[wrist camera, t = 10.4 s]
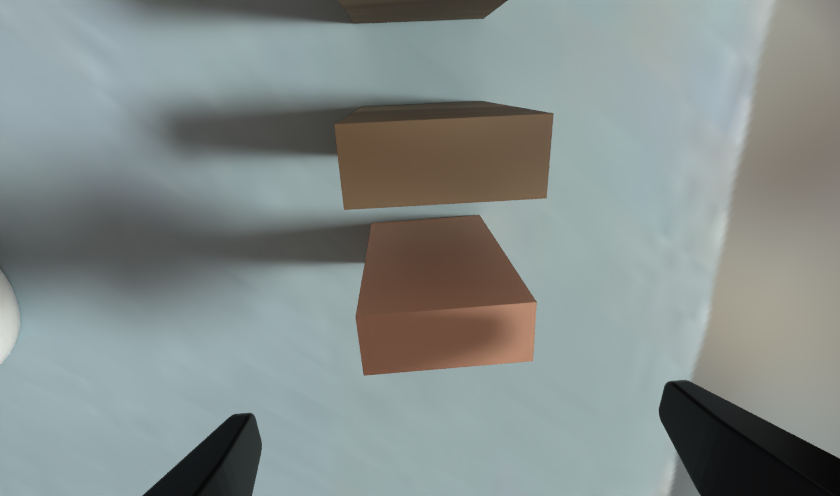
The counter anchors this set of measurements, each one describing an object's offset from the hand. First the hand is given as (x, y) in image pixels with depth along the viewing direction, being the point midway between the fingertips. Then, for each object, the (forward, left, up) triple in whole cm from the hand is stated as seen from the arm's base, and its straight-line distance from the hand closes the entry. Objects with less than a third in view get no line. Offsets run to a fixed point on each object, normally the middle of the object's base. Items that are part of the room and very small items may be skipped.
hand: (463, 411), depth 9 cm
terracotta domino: (0, 0, -11) cm, 11 cm away
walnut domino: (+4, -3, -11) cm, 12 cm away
